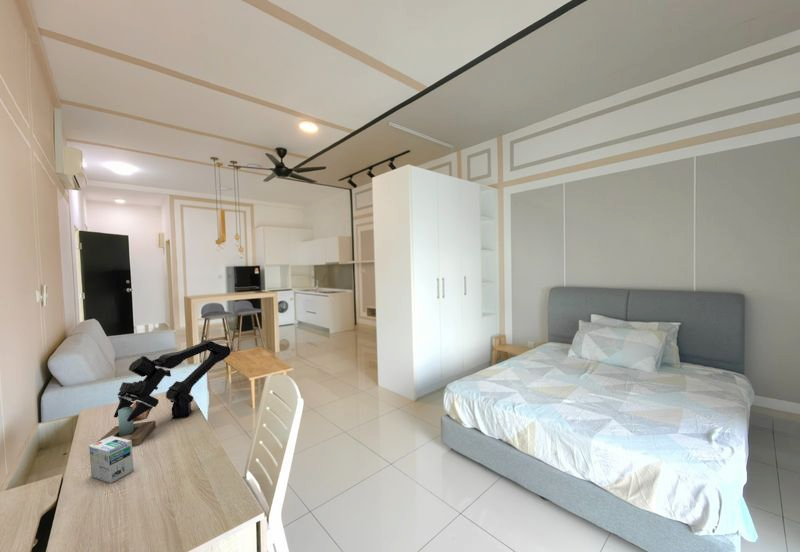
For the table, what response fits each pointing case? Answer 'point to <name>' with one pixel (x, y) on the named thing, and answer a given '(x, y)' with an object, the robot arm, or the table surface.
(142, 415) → the sunglasses case
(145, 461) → the table surface
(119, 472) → the light bulb box
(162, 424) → the table surface
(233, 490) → the table surface
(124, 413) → the stool leg
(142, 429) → the brown flat square frame
